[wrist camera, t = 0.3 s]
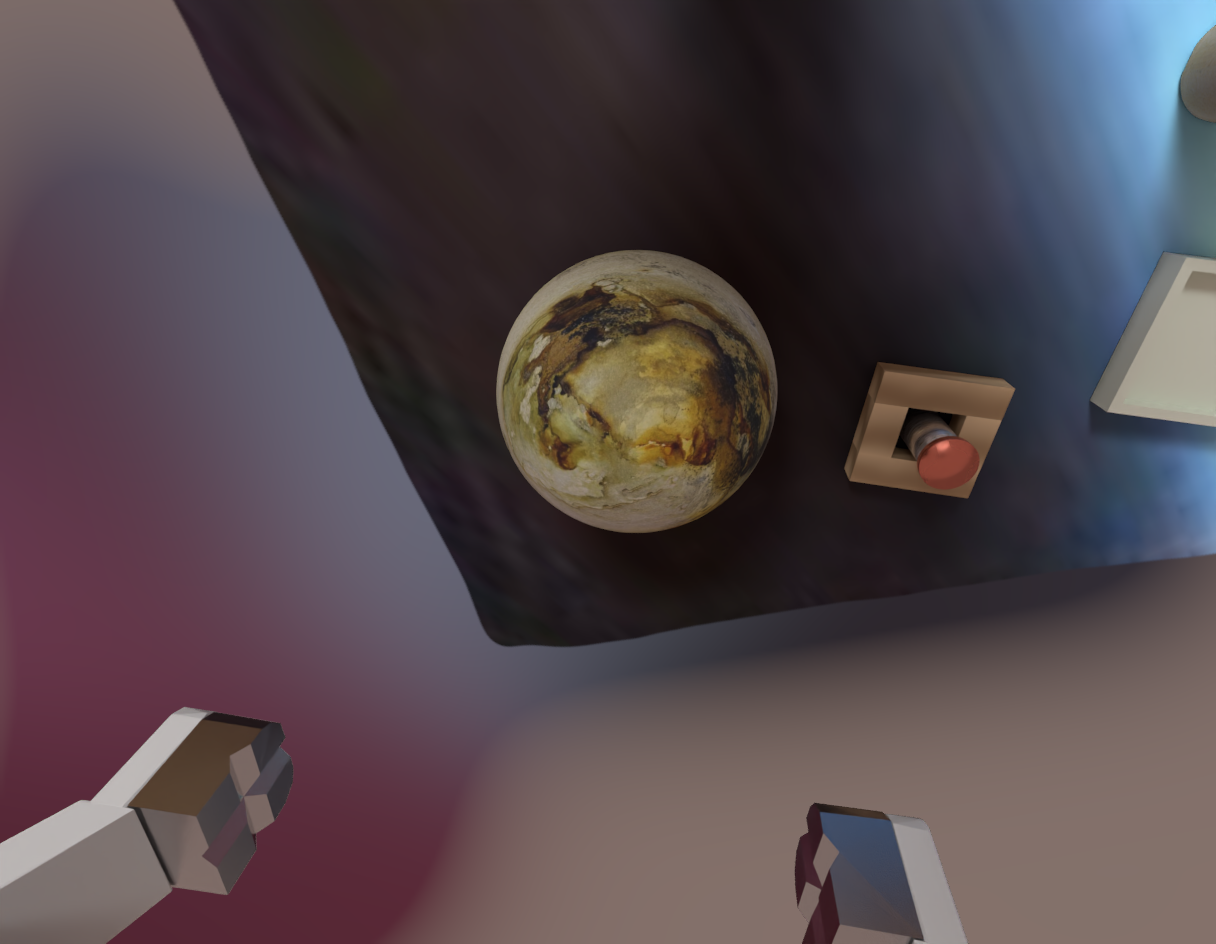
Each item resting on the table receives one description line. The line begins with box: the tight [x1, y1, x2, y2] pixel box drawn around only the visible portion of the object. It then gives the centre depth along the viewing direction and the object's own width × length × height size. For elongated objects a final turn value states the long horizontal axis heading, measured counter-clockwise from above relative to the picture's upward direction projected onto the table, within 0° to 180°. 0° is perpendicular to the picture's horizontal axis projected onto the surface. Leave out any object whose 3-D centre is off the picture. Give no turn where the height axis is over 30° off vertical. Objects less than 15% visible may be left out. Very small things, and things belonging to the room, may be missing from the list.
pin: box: [900, 408, 980, 490], centre depth 51 cm, size 4×4×8 cm
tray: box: [1090, 252, 1216, 427], centre depth 47 cm, size 12×12×2 cm
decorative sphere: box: [496, 250, 777, 533], centre depth 46 cm, size 20×20×20 cm
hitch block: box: [844, 362, 1015, 498], centre depth 53 cm, size 10×10×2 cm
